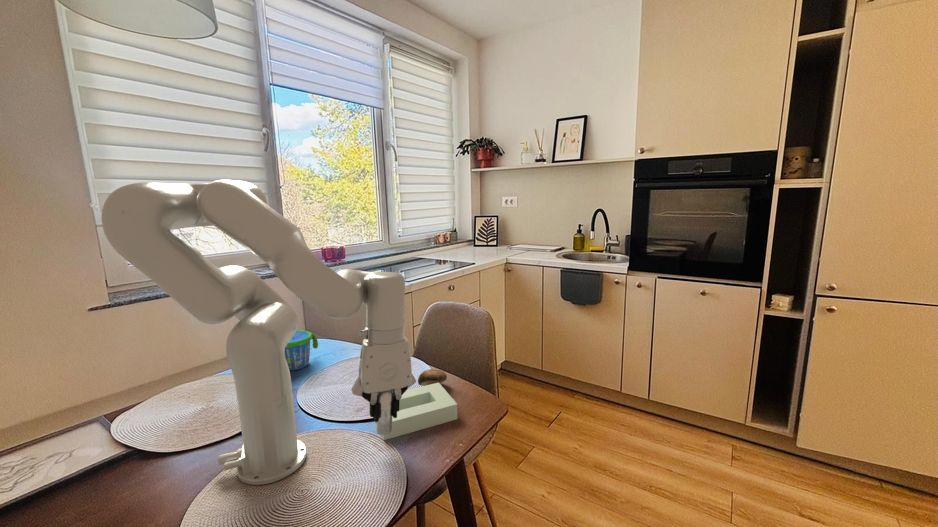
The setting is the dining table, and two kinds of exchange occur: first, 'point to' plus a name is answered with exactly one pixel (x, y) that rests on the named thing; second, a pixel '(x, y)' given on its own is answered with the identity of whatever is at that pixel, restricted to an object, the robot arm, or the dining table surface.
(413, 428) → the slot block
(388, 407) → the pin
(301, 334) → the snack cup
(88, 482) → the dining table surface
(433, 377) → the mushroom
